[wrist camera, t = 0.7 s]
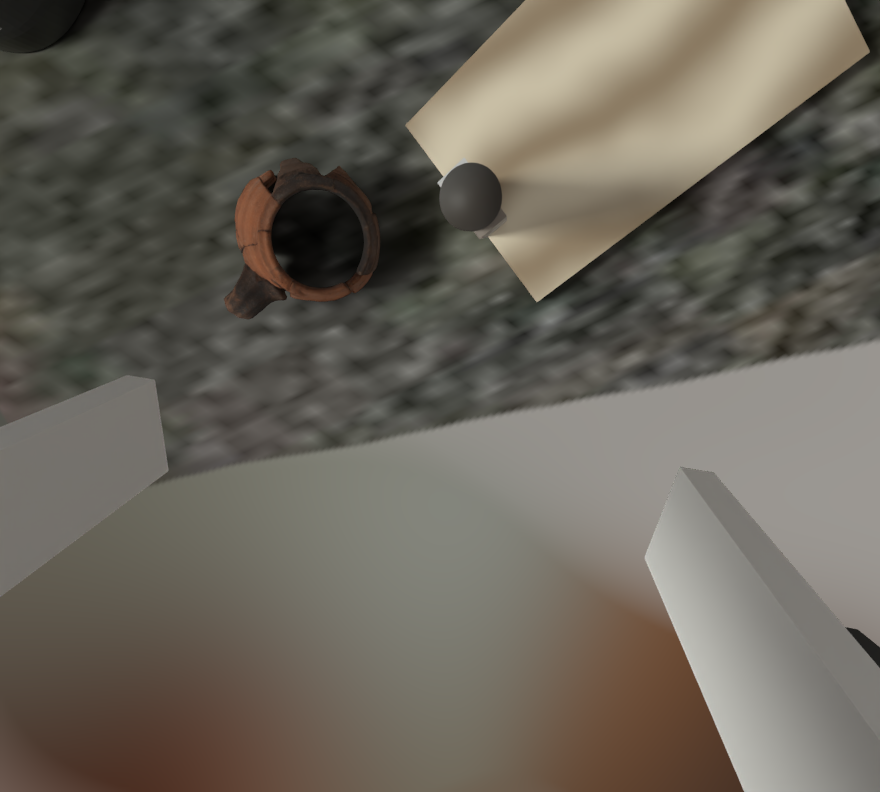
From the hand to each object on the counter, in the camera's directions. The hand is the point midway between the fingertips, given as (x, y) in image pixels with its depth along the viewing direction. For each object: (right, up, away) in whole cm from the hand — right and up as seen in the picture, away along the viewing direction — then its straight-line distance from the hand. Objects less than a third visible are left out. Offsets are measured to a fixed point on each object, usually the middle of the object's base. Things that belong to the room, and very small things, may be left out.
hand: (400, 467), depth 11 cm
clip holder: (+11, +20, +15) cm, 27 cm away
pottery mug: (-9, +13, +21) cm, 26 cm away
